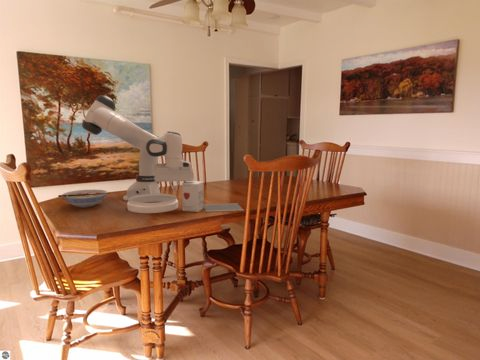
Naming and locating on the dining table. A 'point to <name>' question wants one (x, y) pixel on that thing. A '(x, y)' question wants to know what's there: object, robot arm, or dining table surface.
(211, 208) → the grey flat slab
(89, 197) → the ramen bowl
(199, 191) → the supplement box
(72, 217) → the dining table surface
